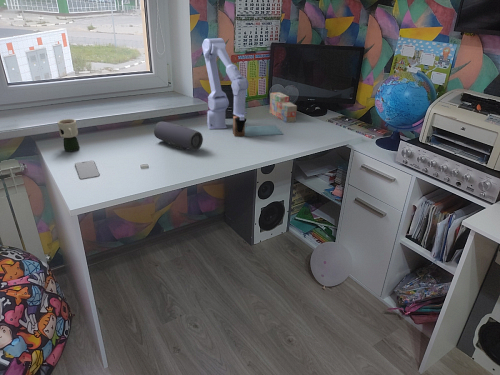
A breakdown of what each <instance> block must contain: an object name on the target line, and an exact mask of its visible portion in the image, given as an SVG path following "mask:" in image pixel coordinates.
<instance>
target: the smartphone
mask: <svg viewBox="0 0 500 375" xmlns="http://www.w3.org/2000/svg"><path fill="white" fill-rule="evenodd" d="M74 167H75V170H76V173H77V175H78V178H79V180H88V179H93V178H99V177H100V176H101V174H100V173H99V170H98V167H97V164H96V163H95V161H94V160H87V161H81V162H76V163H74Z"/></svg>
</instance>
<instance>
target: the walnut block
mask: <svg viewBox="0 0 500 375" xmlns="http://www.w3.org/2000/svg"><path fill="white" fill-rule="evenodd" d="M235 118H239V117H238V116H232V134H233V136H234V137H246V136H245V127H246V123H245V124H244V127H243V131H242V132H238V130H237V124H236V121H235Z"/></svg>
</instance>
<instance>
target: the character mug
mask: <svg viewBox="0 0 500 375" xmlns="http://www.w3.org/2000/svg"><path fill="white" fill-rule="evenodd" d="M57 125H58V131H59V132H58V133H59V135H60V137H61V138H63V149H64V151H65V152H74V151H76V150H80V148H81V147H80V144H79V139H78V138H77V136H79V131H78V125H77V121H76V119H73V118H65V119H60V120H58V121H57Z"/></svg>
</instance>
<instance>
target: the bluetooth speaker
mask: <svg viewBox="0 0 500 375" xmlns="http://www.w3.org/2000/svg"><path fill="white" fill-rule="evenodd" d="M153 134H154V137H155V138H156V139H158V140H159V141H162V142H165V143H167V144H169V146H172V147H175V148H177V149H180V150H187V149H189V150H192V151H197V150H199V149H200V148H201V147H202V145H203V142H204V138H203V134H202V133H201V132H200V131H198V130H195V129H193V128H189V127H187V126H183V125H179V124H176V123H172V122H167V121H159V122H157V123H156V124H155V126H154V130H153Z"/></svg>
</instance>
